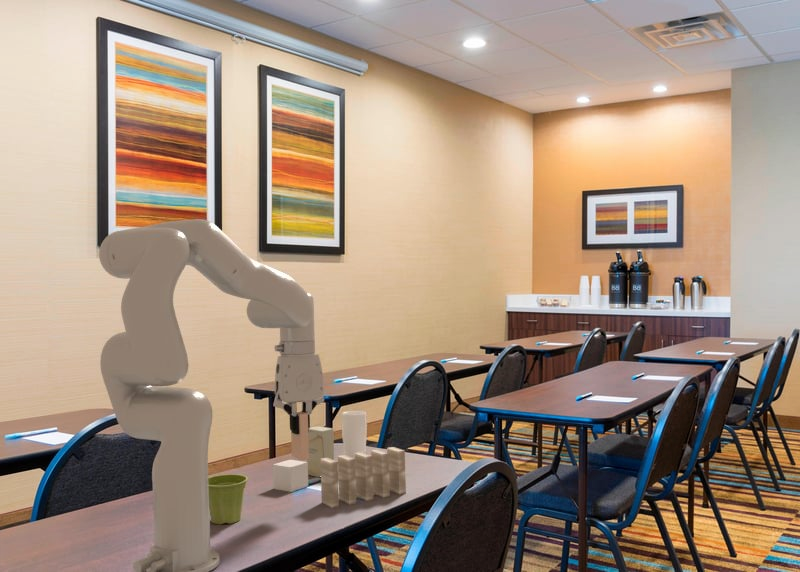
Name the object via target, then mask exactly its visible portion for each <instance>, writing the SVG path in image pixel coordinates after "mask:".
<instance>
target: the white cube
mask: <svg viewBox="0 0 800 572" xmlns="http://www.w3.org/2000/svg"><path fill="white" fill-rule="evenodd" d="M272 477H273V479H272V480H273V482H272V483H273V485H272V486H273V487H272V488H273V490H277V491H278V490H279V491H285V492H290V493H293V492H296V491H298V490H301V489H304V488H308V487H309V475H308V462H307V461H304V460H302V461H301V460H296V459H295V460H294V459H287V460H284V461H280V462H277V463H274V464H272Z"/></svg>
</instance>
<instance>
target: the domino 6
mask: <svg viewBox="0 0 800 572" xmlns="http://www.w3.org/2000/svg"><path fill="white" fill-rule="evenodd" d="M386 452H387V453H389V484H390V492H393V493H395V494H398V495H403V494H406V493H407V486H406V485H407V483H406V481H407V480H406V479H407V478H406V453H405V452H406V451H405V449H401V448H398V447H395V446H391V447H390V446H389V447H387V448H386Z"/></svg>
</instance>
